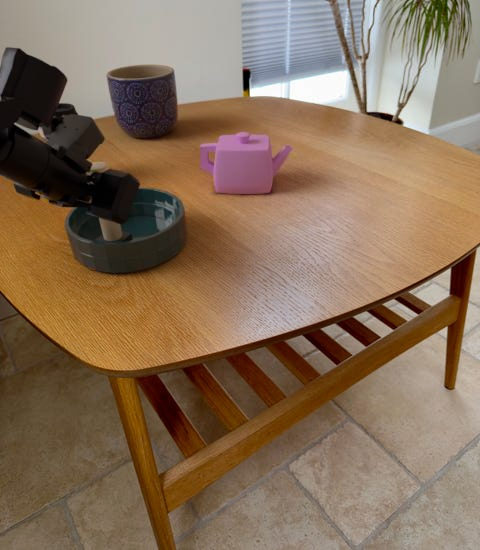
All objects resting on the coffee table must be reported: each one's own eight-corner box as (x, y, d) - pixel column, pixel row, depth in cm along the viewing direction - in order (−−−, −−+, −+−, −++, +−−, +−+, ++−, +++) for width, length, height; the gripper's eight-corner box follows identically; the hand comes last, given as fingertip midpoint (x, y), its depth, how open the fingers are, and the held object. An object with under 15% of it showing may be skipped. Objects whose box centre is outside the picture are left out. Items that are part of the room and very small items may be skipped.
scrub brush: (117, 259, 66) (97, 173, 58) (97, 253, 68) (75, 168, 59) (134, 246, 69) (117, 162, 60) (115, 240, 70) (96, 158, 62)
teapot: (289, 173, 91) (292, 124, 85) (291, 195, 83) (294, 143, 77) (205, 173, 92) (201, 124, 86) (198, 195, 84) (193, 143, 78)
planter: (104, 136, 113) (91, 74, 104) (146, 119, 124) (138, 62, 115) (152, 147, 106) (143, 82, 97) (193, 127, 117) (187, 67, 108)
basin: (139, 289, 61) (132, 257, 58) (49, 256, 68) (38, 226, 65) (208, 229, 74) (205, 200, 70) (125, 207, 81) (120, 179, 78)
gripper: (114, 108, 47) (182, 167, 62) (2, 91, 55) (86, 147, 69) (78, 203, 47) (156, 241, 61) (-30, 172, 54) (62, 212, 68)
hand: (113, 206), depth 65 cm, fingers open, 3 cm apart
